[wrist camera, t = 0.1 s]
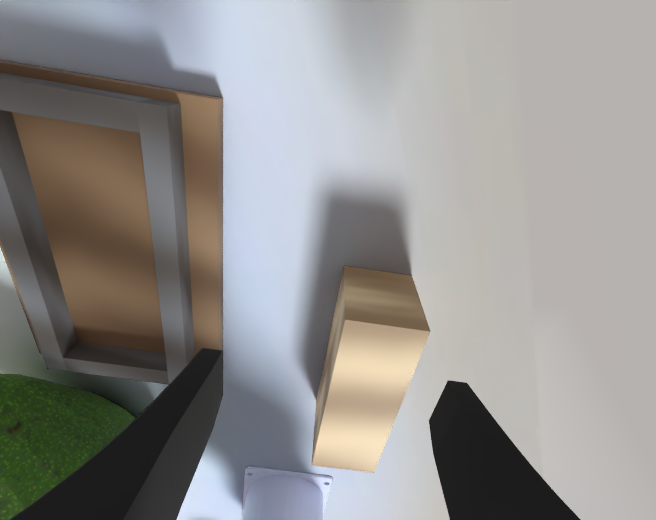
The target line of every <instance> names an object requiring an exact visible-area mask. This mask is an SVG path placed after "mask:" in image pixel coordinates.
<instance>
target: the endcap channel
mask: <svg viewBox="0 0 656 520" xmlns="http://www.w3.org/2000/svg"><path fill="white" fill-rule="evenodd" d="M0 247H1V250H2V252H3V255H4V258H5V260H6V263H7V266H8V268H9V271H10V274H11V277H12V279H13V282H14V285H15V287H16V290H17V293H18V296H19V298H20V301H21V304H22V306H23V309H24V312H25V314H26V317H27V320H28V323H29V325H30V328H31V331H32V333H33V336H34V339H35V342H36V344H37V347H38V350H39V352H40V354H42V355H43V358H44V360H45V363H46V366H47V369H54V370H62V371H69V372H77V373H85V374H93V375H100V376H108V377H116V378H124V379H131V380H139V381H147V382H155V383H162V384H170V383H171V382H172V381H173V380H174V379H175V378H176V377H177V376H178V375H179V373H180V372H181V371H182V370H183V369H184V368H185V367H186V366H187V364H188V363H189V362H190V361H191V360H192V359H193V357H194V356H195V355H196V354H197V353H198V351H199V350H201V349H202V348H208V349H215V350H223V98H221V97H215V96H209V95H203V94H198V93H192V92H186V91H180V90H174V89H168V88H163V87H157V86H151V85H145V84H139V83H133V82H128V81H122V80H116V79H110V78H104V77H98V76H93V75H87V74H81V73H75V72H69V71H64V70H58V69H52V68H46V67H40V66H34V65H29V64H23V63H17V62H11V61H5V60H0Z"/></svg>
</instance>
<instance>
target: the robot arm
mask: <svg viewBox="0 0 656 520" xmlns="http://www.w3.org/2000/svg"><path fill="white" fill-rule="evenodd" d="M222 396H223V350H215V349H208V348H202V349H201V350H199V351H198V353H197V354H196V355H195V356H194V357H193V359H192V360H191V361H190V362H189V363H188V364H187V366H186V367H185V368H184V369H183V370H182V371H181V372H180V373H179V375H178V376H177V377H176V378H175V379H174V380H173V381H172V382H171V383H170V384H169V385H168V386H167V387H166V388H165V389H164V390H163V391H162V393H161V394H160V395H159V396H158V397H157V398H156V399H155V400H154V401H153V402H152V403H151V404H150V405H149V406H148V407H147V408H146V409H145V410H144V411H143V412H142V413H140V414H139V415H138V416H137V417H136V418H135V419H134V420H133V421H132V422H131V423H130V424H129V425H128V426H127V427H126V428H124V429H123V430H122V431H121V432H120V433H119V434H118V435H117V436H116V437H115V438H113V439H112V440H111V441H110V442H109V443H108V444H107V445H105V446H104V447H103V448H102V449H101V450H100V451H98V452H97V453H96V454H95V455H94V456H92V457H91V458H90V459H89V460H88V461H86V462H85V463H84V464H83V465H82V466H80V467H79V468H78V469H77V470H75V471H74V472H73V473H71V474H70V475H69V476H68V477H66V478H65V479H64V480H62V481H61V482H60V483H59V484H57V485H56V486H55V487H53V488H52V489H51V490H50V491H48V492H47V493H46V494H44V495H43V496H42V497H40V498H39V499H37V500H36V501H35V502H33V503H32V504H31V505H29V506H28V507H27V508H25V509H24V510H22V511H21V512H19V513H18V514H16V515H15V516H14V517H12V518H11V519H9V520H176V519H177V516H178V514H179V511H180V508H181V506H182V503H183V501H184V498H185V496H186V493H187V491H188V488H189V486H190V483H191V481H192V479H193V476H194V474H195V471H196V469H197V466H198V464H199V461H200V459H201V457H202V454H203V452H204V449H205V447H206V444H207V442H208V439H209V437H210V434H211V432H212V429H213V427H214V423H215V420H216V417H217V413H218V410H219V406H220V403H221V399H222ZM429 424H430V432H431V440H432V447H433V454H434V458H435V462H436V466H437V470H438V474H439V478H440V482H441V486H442V490H443V494H444V498H445V502H446V505H447V509H448V513H449V517H450V520H580V519H579V518H578V517H577V516H576V515H575V513H574V512H573V511H572V510H571V509H570V508H569V507H568V506H567V505H566V504H565V503H564V502H563V501H562V500H561V499H560V498H559V496H557V494H556V493H555V492H554V491H553V490H552V489H551V488H550V486H549V485H548V484H547V483H546V482H545V481H544V479H543V478H542V477H541V476H540V475H539V474H538V473H537V471H536V470H535V469H534V468H533V467H532V466H531V464H530V463H529V462H528V461H527V460H526V458H525V457H524V456H523V455H522V454H521V452H520V451H519V450H518V449H517V447H516V446H515V445H514V444H513V442H512V441H511V440H510V439H509V437H508V436H507V435H506V434H505V432H504V431H503V430H502V428H501V427H500V426H499V425H498V423H497V422H496V421H495V419H494V418H493V417H492V415H491V414H490V413H489V412H488V410H487V409H486V408H485V406H484V405H483V404H482V402H481V401H480V400H479V398H478V397H477V396H476V394H475V393H474V392H473V390H472V389H471V388H470V387H469V385H468V384H467V383H463V382H456V381H448V382H447V384H446V386H445V388H444V390H443V392H442V394H441V397H440V399H439V401H438V403H437V405H436V407H435V409H434V411H433V413H432V415H431V418H430V420H429ZM248 473H252V474H248ZM325 482H328V483H325ZM332 483H333V478H332V477H331V476H326V475H318V474H309V473H301V472H292V471H284V470H275V469H267V468H259V467H246V468H245V476H244V492H243V509H242V520H322V518H323V513H324V509H325V506H326V503H327V499H328V496H329V493H330V489H331V486H332Z"/></svg>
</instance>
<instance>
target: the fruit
mask: <svg viewBox="0 0 656 520" xmlns="http://www.w3.org/2000/svg"><path fill="white" fill-rule="evenodd" d="M134 419H135V417H133V416H132V415H131V414H130V413H129V412H128V411H127V410H125V409H124V408H122V407H120V406H118V405H116V404H114V403H113V402H111V401H109V400H107V399H105V398H103V397H101V396H99V395H97V394H95V393H92V392H88V391H84V390H80V389H76V388H72V387H68V386H64V385H60V384H56V383H53V382H49V381H45V380H41V379H36V378H32V377H27V376H23V375H17V374H0V520H9V519H11V518H12V517H14V516H15V515H16V514H18V513H19V512H21V511H22V510H24V509H25V508H27V507H28V506H29V505H31V504H32V503H33V502H35V501H36V500H37V499H39V498H40V497H42V496H43V495H44V494H46V493H47V492H48V491H50V490H51V489H52V488H53V487H55V486H56V485H57V484H59V483H60V482H61V481H62V480H64V479H65V478H66V477H68V476H69V475H70V474H71V473H73V472H74V471H75V470H77V469H78V468H79V467H80V466H82V465H83V464H84V463H85V462H86V461H88V460H89V459H90V458H91V457H92V456H94V455H95V454H96V453H97V452H98V451H100V450H101V449H102V448H103V447H104V446H105V445H107V444H108V443H109V442H110V441H111V440H112V439H113V438H115V437H116V436H117V435H118V434H119V433H120V432H121V431H122V430H123V429H124V428H126V427H127V426H128V425H129V424H130V423H131V422H132V421H133V420H134Z"/></svg>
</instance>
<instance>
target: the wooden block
mask: <svg viewBox="0 0 656 520" xmlns="http://www.w3.org/2000/svg"><path fill="white" fill-rule="evenodd" d="M429 334H430V329H429V326H428V323H427V320H426V317H425V314H424V311H423V308H422V305H421V302H420V299H419V296H418V293H417V290H416V287H415V284H414V281H413V278H412V276H411V275H405V274H398V273H391V272H384V271H378V270H371V269H364V268H357V267H351V266H344V269H343V274H342V279H341V283H340V288H339V293H338V298H337V303H336V308H335V312H334V317H333V322H332V327H331V332H330V337H329V342H328V346H327V351H326V356H325V361H324V366H323V371H322V375H321V380H320V385H319V390H318V395H317V400H316V412H315V426H314V440H313V454H312V465H313V466H322V467H330V468H339V469H347V470H355V471H364V472H372V473H374V471H375V469H376V466H377V464H378V461H379V459H380V456H381V454H382V451H383V449H384V446H385V444H386V441H387V439H388V436H389V434H390V431H391V429H392V426H393V424H394V421H395V419H396V416H397V414H398V411H399V409H400V406H401V404H402V401H403V399H404V396H405V394H406V391H407V389H408V386H409V384H410V381H411V379H412V376H413V374H414V371H415V369H416V366H417V364H418V361H419V359H420V356H421V354H422V351H423V349H424V346H425V344H426V341H427V339H428V336H429Z"/></svg>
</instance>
